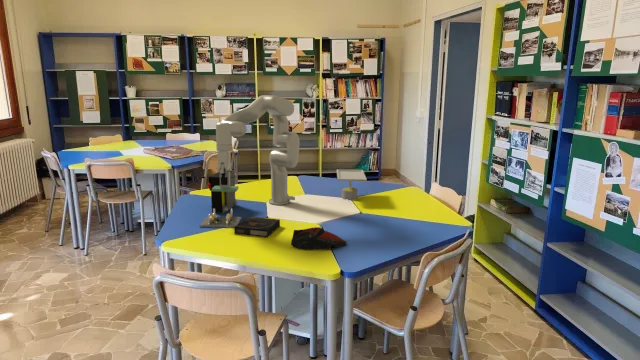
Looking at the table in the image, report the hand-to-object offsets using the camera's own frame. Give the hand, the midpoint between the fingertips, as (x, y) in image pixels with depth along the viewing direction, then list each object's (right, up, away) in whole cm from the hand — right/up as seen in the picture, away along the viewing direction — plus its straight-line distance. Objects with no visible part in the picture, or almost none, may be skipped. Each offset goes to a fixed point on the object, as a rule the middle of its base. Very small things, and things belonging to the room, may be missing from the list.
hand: (225, 183), depth 217 cm
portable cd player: (+17, -23, -7) cm, 30 cm away
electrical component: (-7, -15, +27) cm, 32 cm away
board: (0, -3, +1) cm, 3 cm away
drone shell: (+46, -28, -24) cm, 59 cm away
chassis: (-3, -20, +3) cm, 20 cm away
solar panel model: (+66, -9, +54) cm, 86 cm away
